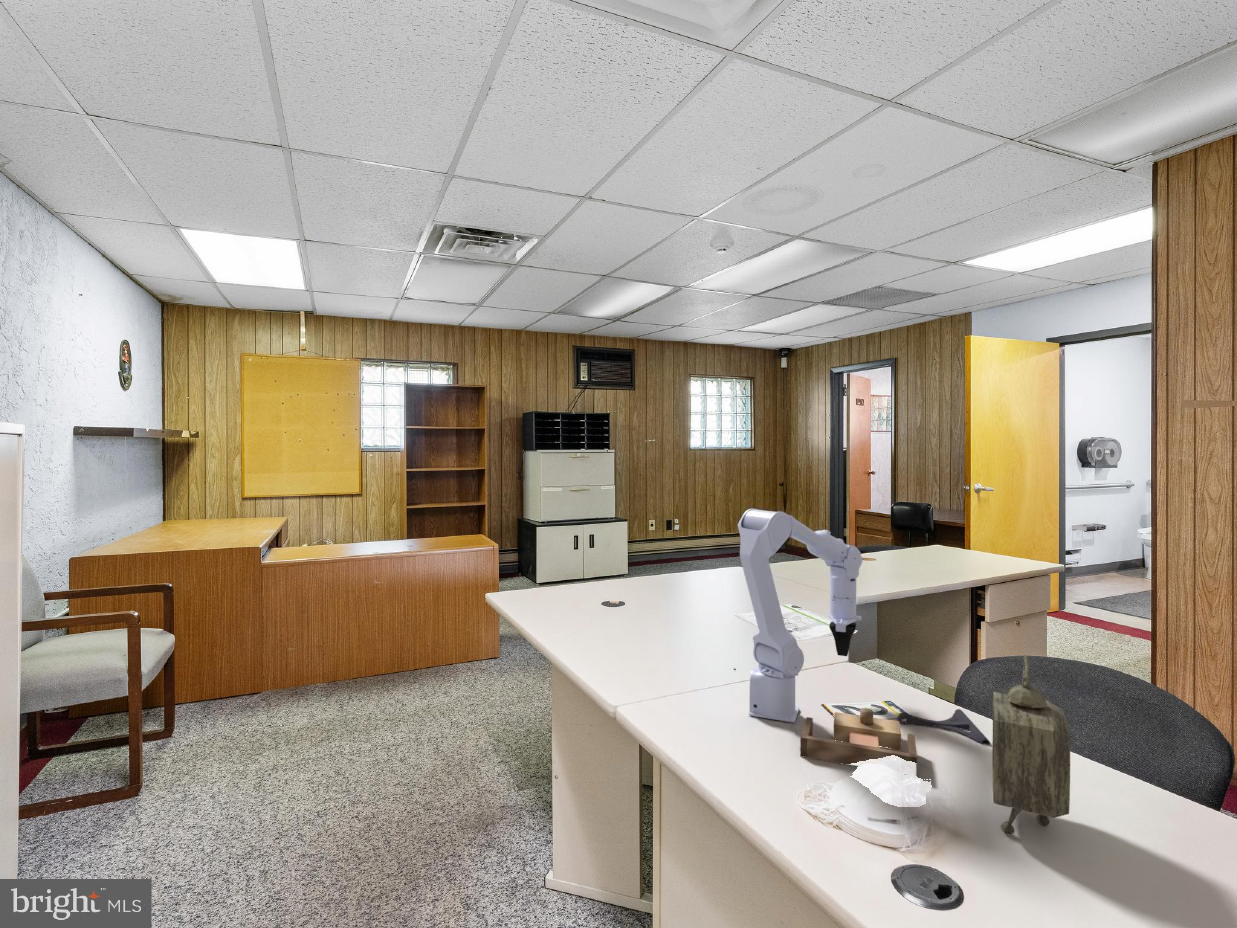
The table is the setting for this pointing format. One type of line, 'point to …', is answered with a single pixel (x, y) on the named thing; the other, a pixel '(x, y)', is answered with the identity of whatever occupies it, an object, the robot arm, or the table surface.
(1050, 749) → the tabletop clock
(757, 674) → the robot arm
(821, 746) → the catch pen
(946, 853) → the table surface
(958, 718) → the bracket
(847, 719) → the wooden box with knob
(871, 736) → the tile
